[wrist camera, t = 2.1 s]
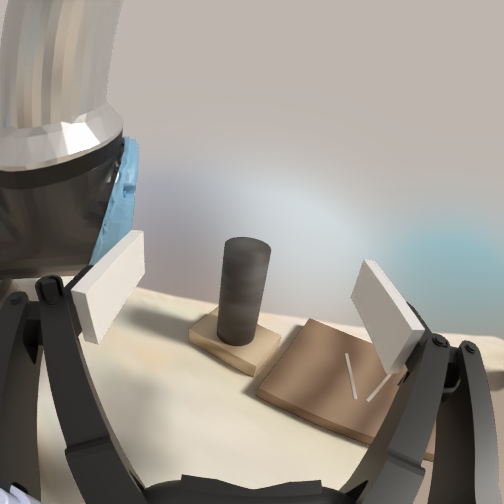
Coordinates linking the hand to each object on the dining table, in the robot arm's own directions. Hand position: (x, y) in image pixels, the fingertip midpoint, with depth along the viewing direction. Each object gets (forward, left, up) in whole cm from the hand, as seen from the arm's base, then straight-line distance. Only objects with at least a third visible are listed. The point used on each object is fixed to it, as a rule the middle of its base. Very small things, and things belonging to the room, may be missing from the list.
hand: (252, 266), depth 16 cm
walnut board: (+13, +11, -16) cm, 23 cm away
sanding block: (-5, +9, -16) cm, 19 cm away
